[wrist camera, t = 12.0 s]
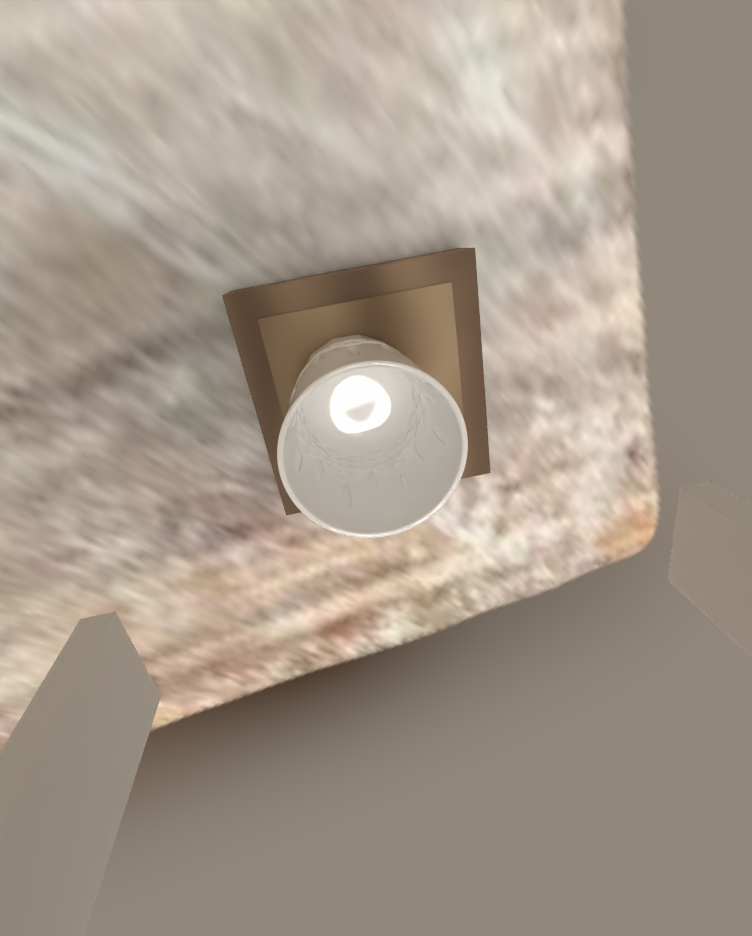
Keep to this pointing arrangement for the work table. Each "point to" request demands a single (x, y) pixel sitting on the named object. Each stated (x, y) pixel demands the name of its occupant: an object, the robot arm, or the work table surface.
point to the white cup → (369, 440)
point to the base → (367, 334)
